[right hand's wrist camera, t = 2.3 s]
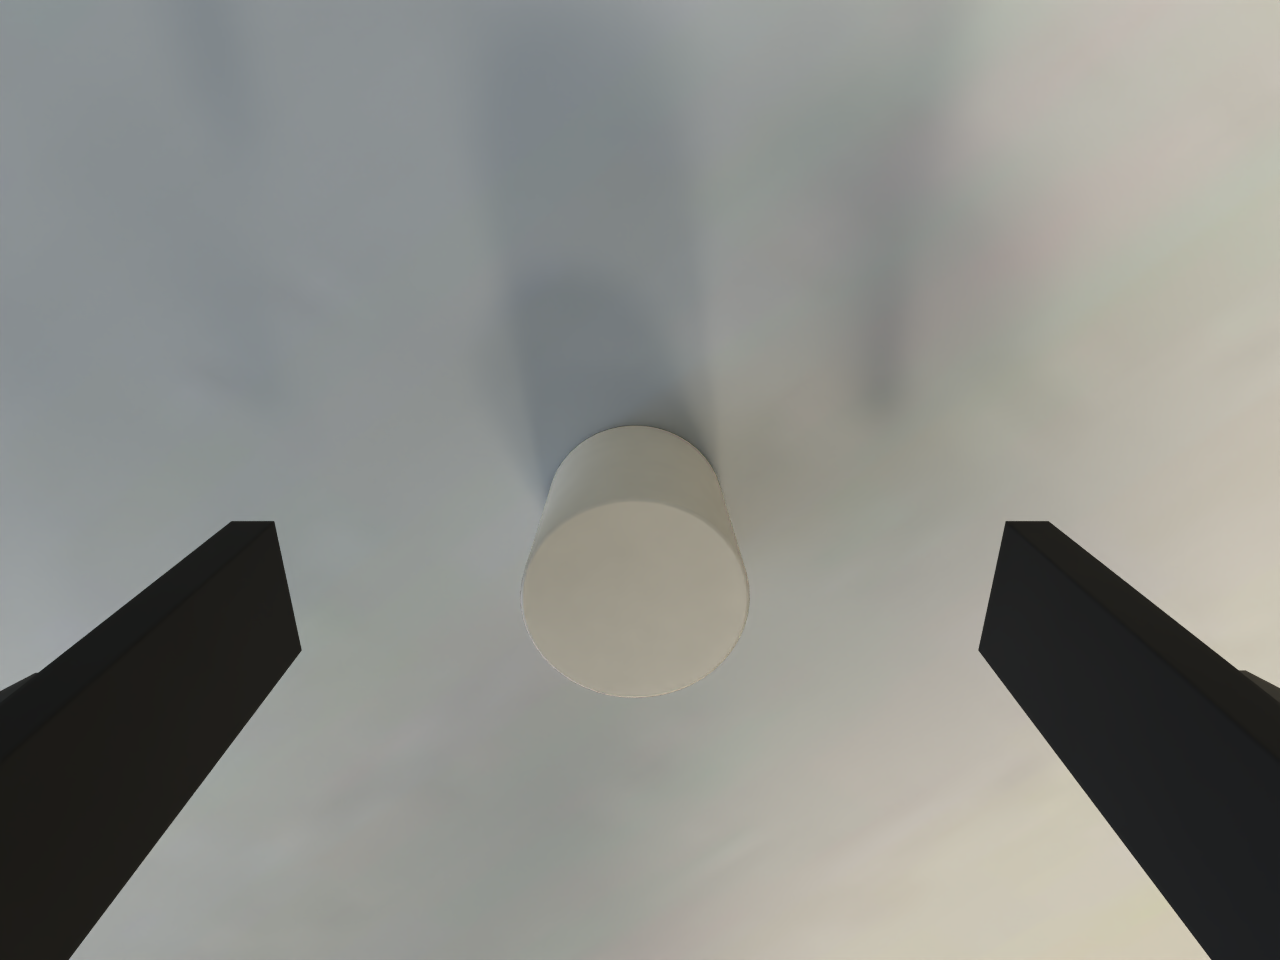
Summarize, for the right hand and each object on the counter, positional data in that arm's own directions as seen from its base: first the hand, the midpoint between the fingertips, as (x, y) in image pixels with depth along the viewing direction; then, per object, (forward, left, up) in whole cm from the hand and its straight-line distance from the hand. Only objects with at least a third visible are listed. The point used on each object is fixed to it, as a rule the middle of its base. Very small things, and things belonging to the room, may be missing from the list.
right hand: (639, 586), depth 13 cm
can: (0, 0, -5) cm, 5 cm away
